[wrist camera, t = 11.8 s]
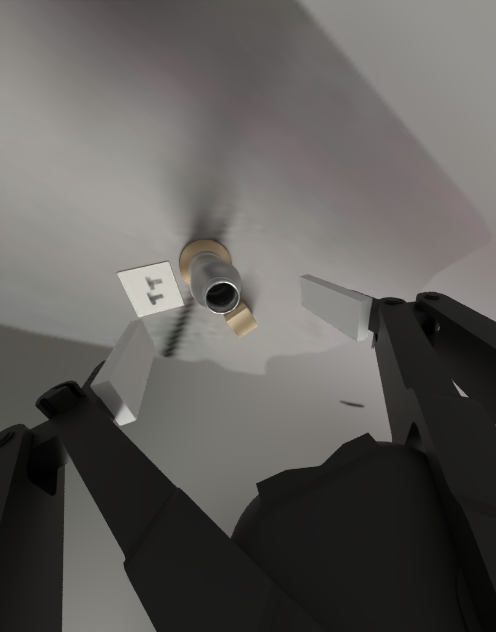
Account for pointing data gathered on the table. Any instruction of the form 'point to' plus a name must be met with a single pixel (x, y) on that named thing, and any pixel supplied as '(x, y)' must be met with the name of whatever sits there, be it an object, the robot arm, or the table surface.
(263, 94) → the table surface
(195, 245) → the cork coaster
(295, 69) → the table surface
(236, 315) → the oak block
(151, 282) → the card
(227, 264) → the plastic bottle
